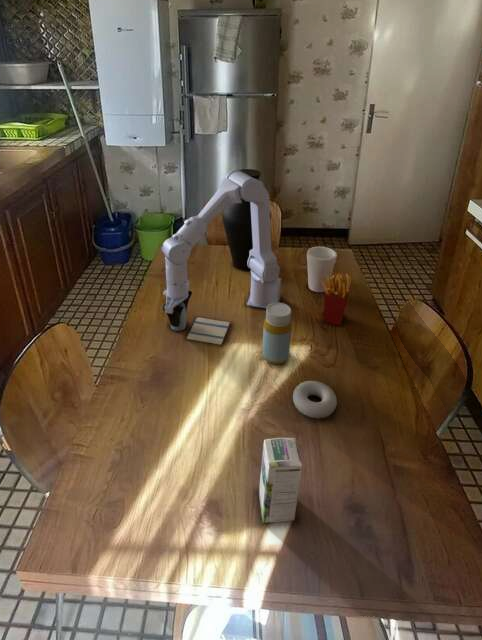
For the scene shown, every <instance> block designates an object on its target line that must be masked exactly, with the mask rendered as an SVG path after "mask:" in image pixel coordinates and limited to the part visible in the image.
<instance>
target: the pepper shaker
mask: <svg viewBox="0 0 482 640" xmlns="http://www.w3.org/2000/svg"><path fill="white" fill-rule="evenodd" d="M178 306H179V307H184V308H183V310H182V313H181V317H180V325H179V327H174V326H172V325H171V324H170V328H171V330H173V331H177V332H180V331H183V330H185V329H186V328H187V311H186V307H185V304H184V303H182V302H181V303H179V304H178Z"/></svg>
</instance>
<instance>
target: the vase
mask: <svg viewBox="0 0 482 640" xmlns="http://www.w3.org/2000/svg"><path fill="white" fill-rule="evenodd" d="M239 170H240V171H242V172H244V173H245V174H247V175H249V176H250V177H252V178H255V179H257V180H259V181H260V177H261V171H260V170H257V169H253V168H242V169H239ZM241 202H242V203H233V204H228V205H226V206H225V207H224V208H223V209H222V211H221V212H222V213H221V218H222V223H223V224H222V225H223V228H224V232H225V236H226V240H227V243H228V244H227V245H228V248H229V252H230V256H231V260H232V265H233V267H234V268H236V269H237V270H239V271H251V269H250V268H249V267H248V265H247V261H248V258H249V251H250V250H251V249H253V239H252V222H251V204H250V202H248V201H245V200H244V199H242V198H241ZM270 221H272V211H271V210H270Z"/></svg>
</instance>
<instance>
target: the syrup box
mask: <svg viewBox="0 0 482 640" xmlns="http://www.w3.org/2000/svg"><path fill="white" fill-rule="evenodd" d="M300 454H301V453H300V450H299V446H298V443H297V438H296V437H275V438H266V439H264V440H263V446H262V459H261V468H260V477H259V491H258V496H259V504H260V505H259V506H260V512H261V518H262V523H263V524H268V523H269V524H270V523H279V522H290V521H291V522H292V521H295V520H296V519H295V518H296V512H297V504H298V497H299V492H300V491H299V489H300V484H301V476H302V470H303V463H302V460H301V455H300Z"/></svg>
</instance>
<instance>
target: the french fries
mask: <svg viewBox="0 0 482 640" xmlns="http://www.w3.org/2000/svg"><path fill="white" fill-rule="evenodd" d="M326 277H327V279H328V283H329V284H328V286H327V284H326V282H325V280H324V279H323V280H322V281H321V282H322V283H323V285H324V287H325V290H326V291H325V292H324V297H323V298H324V300H323V301H324V302H323V303H324V304H323V323H326V324H327V323H328V324H331V325H335V326H341V325H342V322H343V319H344V314H345V311H346V306H347V303H348V298H349V294H350V291H351V285H352V275H350V273H345V277H346V282H344V280H343V274H341V273H337V274H336V275H334V274H332V275H331V278H330V277H329V276H328V275H327V276H326ZM334 279H335V280H334Z"/></svg>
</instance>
